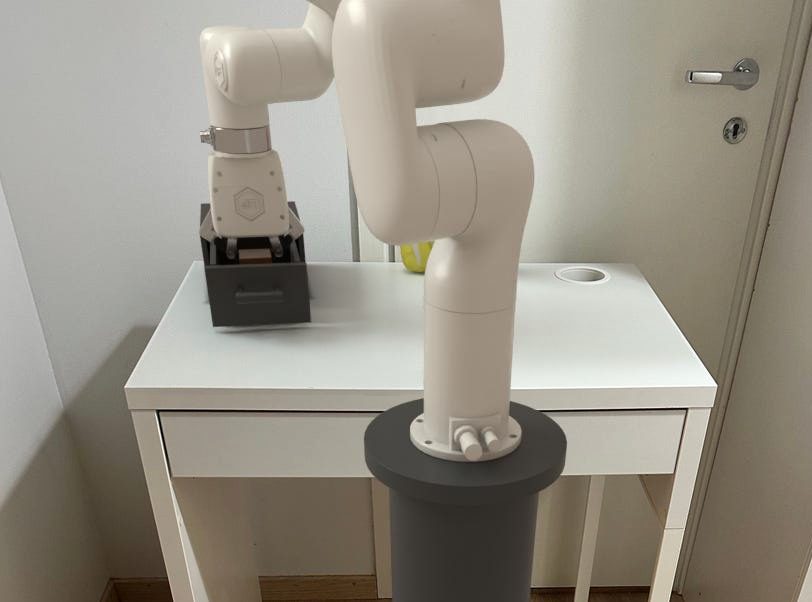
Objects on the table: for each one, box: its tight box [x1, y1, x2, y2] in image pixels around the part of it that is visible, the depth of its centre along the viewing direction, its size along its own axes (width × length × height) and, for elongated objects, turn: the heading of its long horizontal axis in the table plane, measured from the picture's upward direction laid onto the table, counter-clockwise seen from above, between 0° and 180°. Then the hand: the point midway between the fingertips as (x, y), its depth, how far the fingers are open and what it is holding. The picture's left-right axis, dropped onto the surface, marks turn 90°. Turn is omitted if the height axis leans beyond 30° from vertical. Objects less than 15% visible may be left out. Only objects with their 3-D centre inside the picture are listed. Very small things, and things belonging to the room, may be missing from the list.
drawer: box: [203, 237, 312, 328], centre depth 128 cm, size 21×13×8 cm, turn 12°
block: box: [239, 249, 272, 265], centre depth 128 cm, size 4×4×4 cm
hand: (258, 283), depth 129 cm, fingers closed on block, 4 cm apart
